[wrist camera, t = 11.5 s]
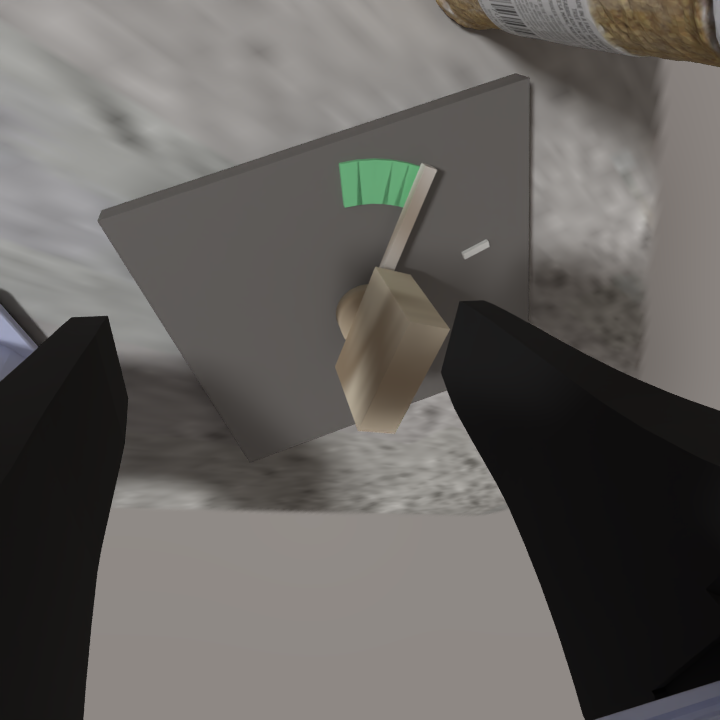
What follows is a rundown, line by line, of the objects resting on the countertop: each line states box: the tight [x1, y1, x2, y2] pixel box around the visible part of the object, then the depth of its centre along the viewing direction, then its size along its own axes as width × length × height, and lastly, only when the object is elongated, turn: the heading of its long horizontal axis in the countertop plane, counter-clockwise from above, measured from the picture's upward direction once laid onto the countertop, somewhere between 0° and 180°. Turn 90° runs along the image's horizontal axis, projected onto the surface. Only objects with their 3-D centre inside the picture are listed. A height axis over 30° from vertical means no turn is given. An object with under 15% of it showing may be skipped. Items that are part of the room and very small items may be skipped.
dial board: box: [98, 74, 530, 462], centre depth 22 cm, size 16×14×1 cm
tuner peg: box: [335, 163, 450, 434], centre depth 18 cm, size 9×3×5 cm, turn 159°
